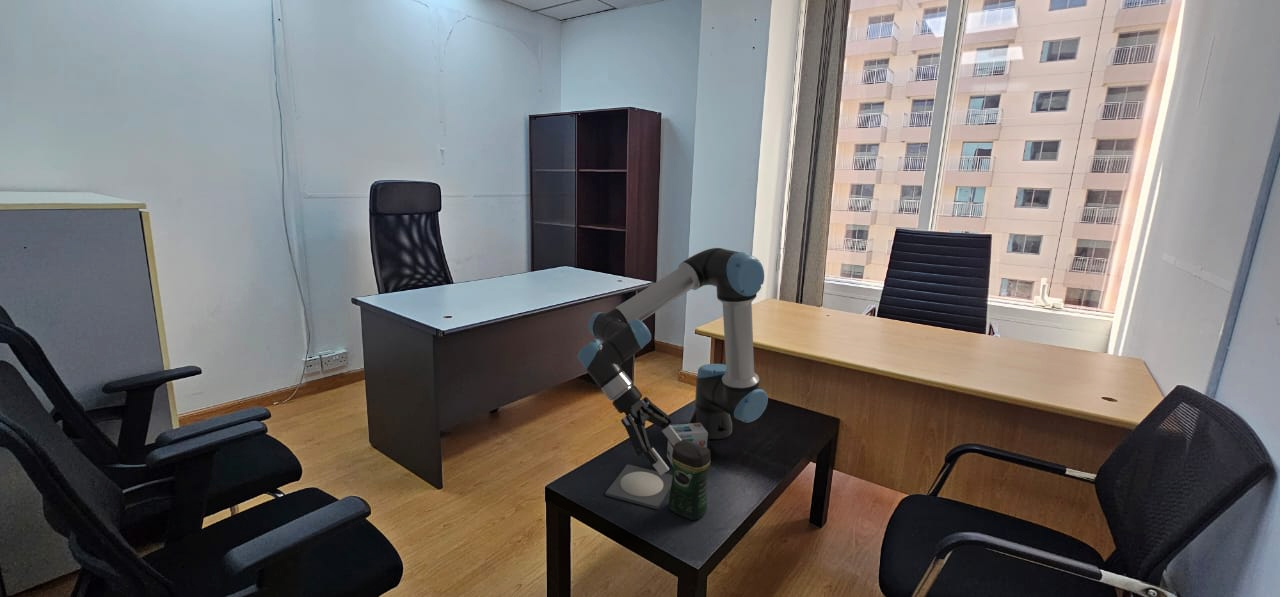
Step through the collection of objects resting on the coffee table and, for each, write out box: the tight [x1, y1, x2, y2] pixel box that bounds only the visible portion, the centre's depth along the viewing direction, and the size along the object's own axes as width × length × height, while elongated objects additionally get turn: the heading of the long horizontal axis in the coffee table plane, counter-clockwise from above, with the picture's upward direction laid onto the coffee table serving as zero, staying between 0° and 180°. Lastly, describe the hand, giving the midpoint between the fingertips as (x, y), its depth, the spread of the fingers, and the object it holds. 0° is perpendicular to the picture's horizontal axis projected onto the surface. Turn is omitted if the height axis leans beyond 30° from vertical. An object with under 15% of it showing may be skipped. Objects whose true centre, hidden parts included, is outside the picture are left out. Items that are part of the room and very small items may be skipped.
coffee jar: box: [668, 439, 712, 521], centre depth 136 cm, size 10×8×19 cm
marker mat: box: [605, 464, 673, 510], centre depth 147 cm, size 16×15×1 cm
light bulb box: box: [666, 423, 708, 467], centre depth 161 cm, size 11×7×11 cm, turn 105°
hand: (673, 459), depth 135 cm, fingers open, 13 cm apart
